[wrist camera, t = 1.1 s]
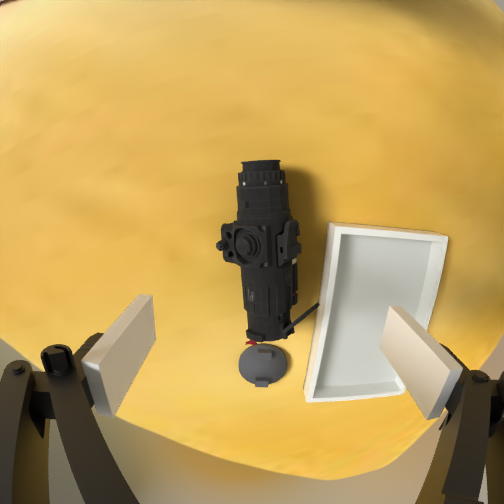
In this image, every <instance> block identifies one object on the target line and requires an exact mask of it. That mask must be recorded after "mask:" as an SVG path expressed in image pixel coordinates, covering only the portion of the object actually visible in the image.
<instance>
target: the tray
mask: <svg viewBox="0 0 504 504" xmlns="http://www.w3.org/2000/svg"><path fill="white" fill-rule="evenodd" d="M447 243H448V236H445V235H442V234H440V233H437V232H433V231H424V230H415V229H405V228H395V227H385V226H375V225H364V224H352V223H340V222H328V226H327V236H326V245H325V254H324V262H323V270H322V278H321V286H320V293H319V300H318V303H319V304H320V305H319V306H318V307H317V313H316V320H315V326H314V332H313V338H312V344H311V349H310V355H309V361H308V366H307V371H306V376H305V381H304V386H303V389H304V394H305V399H306V402H327V401H344V400H356V399H367V398H376V397H384V396H392V395H399V394H404V392H405V389H406V387H405V385H404V384H403V382H402V381H401V379H400V378H399V376H398V375H397V373H396V372H395V370H394V369H393V367H392V366H391V364H390V363H389V361H388V360H387V358H386V357H385V355H384V354H383V352H382V351H381V349H380V348H379V346H380V342H381V338H382V334H383V331H384V327H385V323H386V319H387V314H388V310H389V306H402V307H403V308H404V309H405V310H406V311H407V312H408V313H409V314H410V315H411V316H412V317H413V318H414V319H415V320H416V321H417V322H418V323H419V324H420V325H421V326H422V327H423V328H424V329H425V330H426V331H427V328H428V325H429V321H430V318H431V314H432V311H433V307H434V303H435V299H436V295H437V291H438V287H439V283H440V278H441V274H442V269H443V264H444V259H445V254H446V248H447Z"/></svg>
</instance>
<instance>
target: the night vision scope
mask: <svg viewBox="0 0 504 504" xmlns="http://www.w3.org/2000/svg"><path fill="white" fill-rule="evenodd" d="M279 162H281V161H280V160H258V161H248V162H241V164H243V171H242V172H241V173H238V180H239V186H237V187H236V188H237V201H238V212H237V221H234V223H230V224H226V223H225V224H222V227H221V237H222V240H221V241H219V242H218V243H216V248H217V249H218V250H219V251H222V250H223V259H224V260H225V262H230V263H235V264H237V265H239V266H240V267H241V277H242V287H243V300H244V309H245V310H246V311H247V318H248V329H247V330H246V335H247V338H249V339H250V341H247V342H246V344H245V345H247V344H251V345H254V346H255V345H257V343H256V342H263V341H275V340H280V339H282V338H283V339H287V338H288V336H289V335H290V334H293V333H294V326H295V325H296V324H298V323H299V322H300V321H301V320H303V319H304V318H305V317H306V316H307V315H309V314H310V313H311V312H312V311H314V310H315V309H316V308H317V307H318V306H319V305H320V304H319V303H316V304H315V305H314V306H312V307H311V308H310V309H309V310H307V311H306V312H305V313H304V314H303V315H301V316H300V317H299V318H298V319H296V320H295V321H294V322H293V323H292V322H291V319H290V309H291V308H292V305H295V304H296V303H297V295H298V294H297V293H296V291H297V261H296V260H297V255H298V254H300V253H301V244H300V243H299V242H297V237H296V236H298V235H300V231H299V224H298V222H297V220H294V219H292V217H291V214H290V209H289V199H288V184H286V182H285V171H284V170H281V169H280V164H279Z"/></svg>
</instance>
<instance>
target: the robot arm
mask: <svg viewBox="0 0 504 504" xmlns="http://www.w3.org/2000/svg"><path fill="white" fill-rule="evenodd" d="M155 340H156V334H155V323H154V311H153V297H152V295H143V294H139V295H138V296H137V297H136V298H135V300H134V301H133V302H132V303H131V304H130V305H129V306H128V307H127V308H126V309H125V311H124V312H123V313H122V314H121V315H120V316H119V317H118V318H117V320H116V321H115V322H114V323H113V324H112V325H111V326H110V327H109V329H108V330H107V331H106V332H105V333H104V334H103V333H96V334H94V335H93V336H91V337H89V338H88V339H87V340H86V342H85V343H84V344H83V345H82V346H81V347H80V349H78V350H77V351H76V353H75V354H74V355H72V351H71V349H70V348H69V347H68V346H66V345H62V344H56V345H51V346H48V347H47V348H45V349H44V350H43V351H42V352H41V359H42V363H43V366H44V369H45V372H38V371H33V370H32V367H31V365H30V363H29V362H27V361H24V360H16V361H13V362H11V363H10V364H8V365H7V366H6V368H5V370H4V373H3V375H2V378H1V381H0V504H50V502H49V486H48V485H49V483H48V448H49V428H50V419H56V421H57V425H58V429H59V432H60V436H61V439H62V443H63V445H64V449H65V452H66V455H67V458H68V461H69V464H70V467H71V470H72V472H73V475H74V478H75V480H76V483H77V485H78V487H79V490H80V492H81V495H82V497H83V499H84V501H85V503H86V504H139V502H138V500H137V499H136V497H135V496H134V494H133V492H132V491H131V489H130V487H129V485H128V484H127V482H126V480H125V479H124V477H123V475H122V473H121V471H120V470H119V468H118V466H117V464H116V462H115V460H114V458H113V456H112V454H111V452H110V450H109V448H108V446H107V444H106V442H105V440H104V438H103V436H102V433H101V431H100V429H99V427H98V424H97V422H96V420H95V417H94V415H93V413H92V410H91V408H92V406H93V405H95V408H96V411H97V414H101V415H104V416H108V417H112V418H114V416H115V414H116V412H117V410H118V409H119V407H120V405H121V403H122V401H123V399H124V397H125V395H126V393H127V392H128V390H129V388H130V386H131V384H132V382H133V380H134V378H135V377H136V375H137V373H138V371H139V369H140V367H141V366H142V364H143V362H144V360H145V358H146V357H147V355H148V353H149V351H150V349H151V348H152V346H153V344H154V342H155ZM379 348H380V349H381V351H382V352H383V354H384V355H385V357H386V358H387V360H388V361H389V363H390V364H391V366H392V367H393V369H394V370H395V372H396V373H397V375H398V376H399V378H400V379H401V381H402V382H403V384H404V385H405V387H406V388H407V390H408V391H409V393H410V395H411V396H412V398H413V399H414V401H415V402H416V404H417V406H418V407H419V409H420V410H421V412H422V413H423V415H424V417H425V418H426V420H429V419H433V418H437V417H440V415H441V413H442V411H443V410H444V408H445V407H446V409H447V410H448V414H447V416H446V417H445V419H444V421H443V423H442V425H441V426H440V428H439V430H441V429H442V432H441V435H440V438H439V442H438V445H437V448H436V451H435V454H434V457H433V460H432V463H431V466H430V469H429V472H428V474H427V477H426V479H425V482H424V484H423V487H422V489H421V492H420V494H419V496H418V498H417V501H416V503H415V504H484V503H483V502H479V501H478V497H479V493H480V489H481V484H482V479H483V473H484V467H485V465H486V475H487V490H488V504H504V417H503V416H504V372H502V374H501V376H500V378H499V380H490V377H489V376H488V375H487V374H486V373H484V372H482V371H479V370H471V371H470V370H469V369H468V368H467V367H466V366H465V365H464V364H463V363H462V362H461V361H460V360H459V359H458V358H457V357H456V356H455V355H454V354H453V352H452V351H451V350H450V349H449V348H447V347H446V346H444V345H442V344H441V343H438V342H437V341H436V340H435V339H434V338H433V337H432V336H431V335H430V334H429V333H428V332H427V331H426V330H425V329H424V328H423V327H422V326H421V325H420V324H419V323H418V322H417V321H416V320H415V319H414V318H413V317H412V316H411V315H410V314H409V313H408V312H407V311H406V310H405V309H404V308H403V307H402V306H389V310H388V314H387V319H386V323H385V327H384V331H383V334H382V338H381V342H380V346H379ZM442 427H443V428H442Z"/></svg>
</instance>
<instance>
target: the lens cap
mask: <svg viewBox="0 0 504 504" xmlns="http://www.w3.org/2000/svg"><path fill="white" fill-rule="evenodd" d="M286 370H287V360H286V356H285V354H284V353H283V351H282V350H281V349H280V348H278V347H276V346H274V345H271V344H265V343H261V344H257V345H255V346H254V345H252V346H250V347H248V348H247V349H246V350H245V351H244V352H243V353H242V354H241V356H240V359H239V371H240V374H241V375H242V377H243V378H244V379H246V380H247V381H249V382H251V383H253V384H255V387H268V384H272V383H274V382H276V381H278V380H279V379H281V378H282V377H283V376H284V374H285V372H286Z"/></svg>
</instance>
